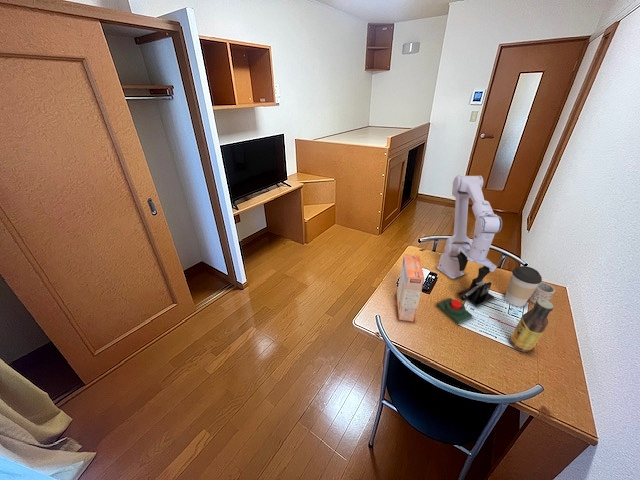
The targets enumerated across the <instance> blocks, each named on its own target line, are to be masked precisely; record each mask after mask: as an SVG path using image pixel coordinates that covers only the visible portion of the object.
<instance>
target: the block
mask: <svg viewBox="0 0 640 480" xmlns="http://www.w3.org/2000/svg"><path fill="white" fill-rule="evenodd" d="M452 300H454V299H453V298H452V297H450V298H447V299H445V300H442V301H440V302H439V303H437V304H436V307H437V308H438V309H439V311H441V312H442V313H443V314H444V315H446V316H447V317H448V318H449V319H451V321H453V322H454V323H455V324H456V325H460V324H462V323H464V322H467V321H468V320H470V319H472V318H473V314H472V313H470V311H468V310H467V309H466V306H465V304H464V303H462V306H461V309H460V310H455V309H453V308H452V307H451V306H450V304H451V301H452Z"/></svg>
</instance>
